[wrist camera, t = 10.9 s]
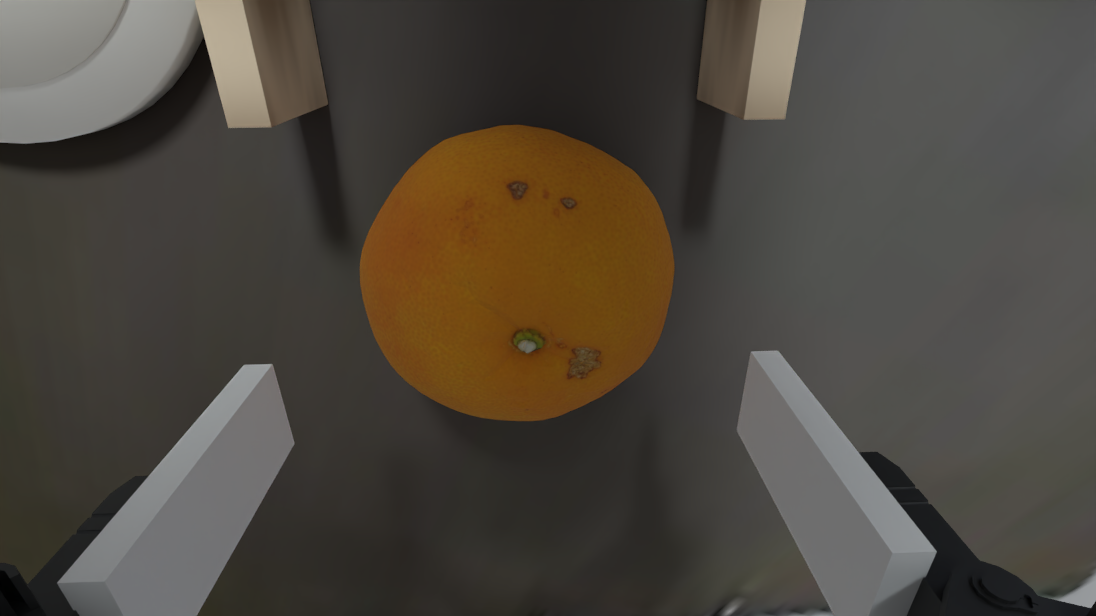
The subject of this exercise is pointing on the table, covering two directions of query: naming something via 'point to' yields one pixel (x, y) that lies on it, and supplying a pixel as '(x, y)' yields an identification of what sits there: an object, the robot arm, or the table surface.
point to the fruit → (517, 273)
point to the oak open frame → (298, 88)
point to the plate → (88, 62)
